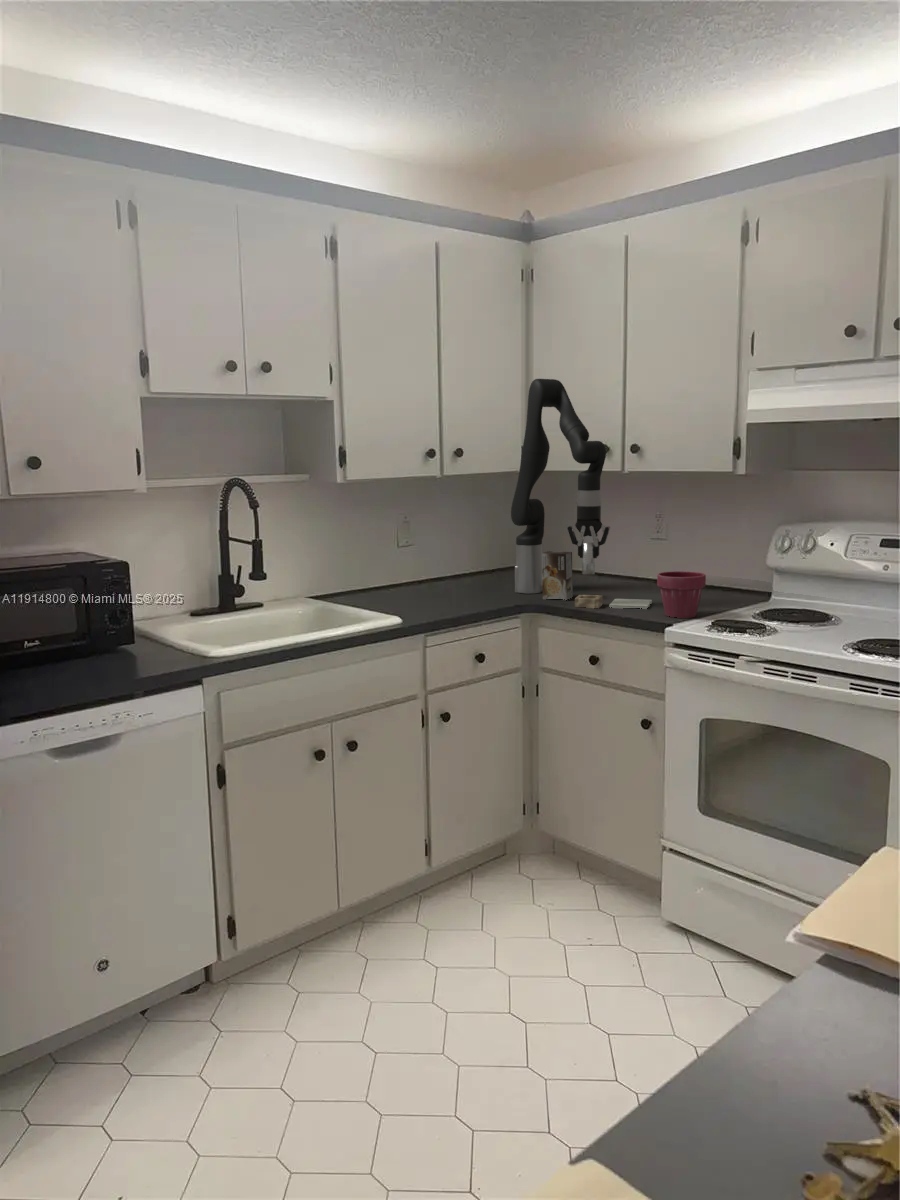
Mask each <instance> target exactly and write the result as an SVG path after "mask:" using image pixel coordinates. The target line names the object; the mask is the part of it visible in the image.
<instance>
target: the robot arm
mask: <svg viewBox="0 0 900 1200" xmlns="http://www.w3.org/2000/svg"><path fill="white" fill-rule="evenodd" d="M543 408H555V409H556V411H558V412H559V414H560V416H559V423H558V424H559V429H560V431H561V433H562V434H563V436H564V438H565V439H566V441H567V442H568V444H569V447H570V452H571V455H572V458H573V460H574V461H575V462H576V463H579V464H582V465H583V464H589V466H588V468H587V469H586V470H584V471H580V472H579V473H578V476H577V495H576V522H575V524H573V525H569V526H568V527H566V528H567V532H568V535H569V538H570V541H571V544H573V545H575V546H576V547H577V555H578V557H579V559H582V543H584V542H585V541H584V540H585V538H586V537H588V536H589V537H591V539H592V540H593V542H594V545H595V547H594V558H595V559H598V557H599V556H600V547H601V546H602V545H605V544H606V541H607V539H608V535H609V532H610V530H611V526H606V525H603V523H602V518H601V515H602V513H601V512H602V510H601V509H602V507H601V506H602V495H601V476H602V473H603V469H604V464H605V462H606V458H607V448H606V446H605V444H604V443H603V442H602V441H601V440H589V438H590V433H589V431H588V429H587V428H586V426H585V424H584V423H583V422H582V421H581V419H580V418H579V416H578V415H577V412H576V411H575V409H574V405H573V403H572V402H571V399H570V396H569V394H568V392H567V390H566V388H565V386H564V384H563V383H562V382H561V380H559V379H555V378H534V379H533V381H531V383H530V386H529V389H528V396H527V410H526V411H527V413H526V422H525V423H526V425H525V431H524V438H523V442H522V443H523V444H522V450H521V457H520V463H519V464H520V466H519V471H518V475H517V476H518V477H517V482H516V487H515V491H514V494H513V498H512V502H511V506H510V507H511V508H510V517H511V521H512V523H513V525H514V526H517V527H523V526H524V527H525V526H526V529H525V530H524V531H523V532H522V533H521V534H519V535H517V536H516V539H515V549H516V550H515V552H516V553H515V556H516V557H515V558H516V560H515V563H516V565H514V592H515V593H518V594H541V593H543V585H542V553H543V537H544V535H545V534H544V533H545V507H544V503H543V502H542V501H541V499H538V498H531V494H532V491H533V488H534V486H535V484H536V483H537V481H538V480H539V479H540V477H541V475H542V474H543V473H544V471H545V469H546V467H547V465H548V462H549V461H548V460H549V456H550V455H549V453H550V446H551V445H550V442H549V439H548V437H547V434H546V432H545V429H544V426H543V422H542V417H543V416H542V413H543ZM576 529H577V531H578V532H579V536H578V539H577V537H576V533H575V532H576ZM600 530H601V532H602V537H601V539H599V536H598V535H599V531H600ZM599 540H600V541H599Z"/></svg>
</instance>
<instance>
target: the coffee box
mask: <svg viewBox="0 0 900 1200" xmlns="http://www.w3.org/2000/svg"><path fill="white" fill-rule="evenodd" d="M573 594H574V593H573V551H560V550H559V551H555V550H553V551H551V550H547V551H544V552H542V600H546V599H563V600H562V601H566V600H567V599H569V600H571V599H573V598H574V596H573ZM572 597H573V598H572ZM570 598H571V599H570ZM564 599H565V600H564ZM567 601H568V600H567Z"/></svg>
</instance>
